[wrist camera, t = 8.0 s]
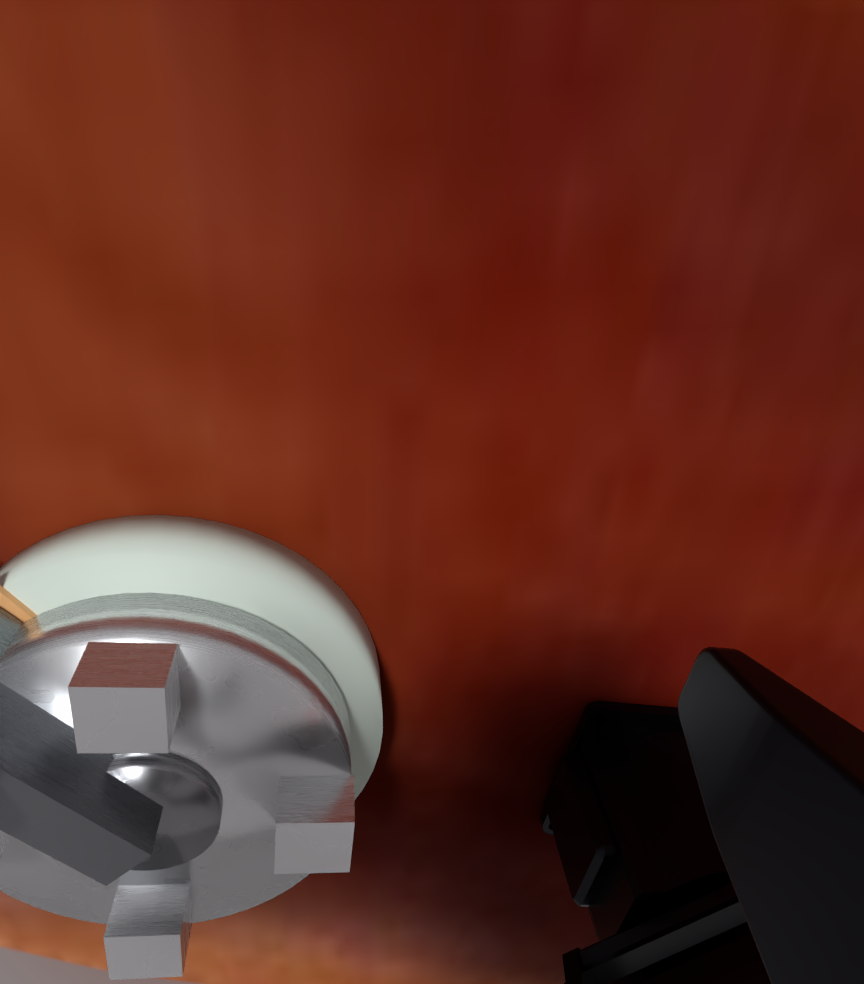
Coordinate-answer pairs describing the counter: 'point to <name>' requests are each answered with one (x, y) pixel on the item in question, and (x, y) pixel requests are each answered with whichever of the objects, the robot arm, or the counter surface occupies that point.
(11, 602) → the nut base
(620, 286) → the counter surface
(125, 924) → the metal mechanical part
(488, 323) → the counter surface
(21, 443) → the counter surface
